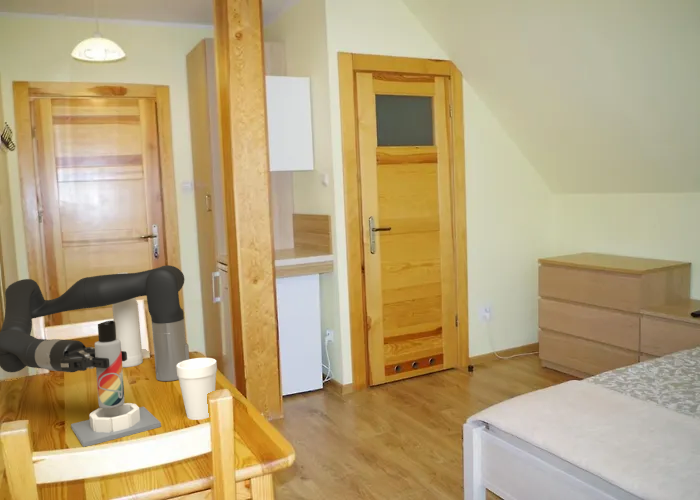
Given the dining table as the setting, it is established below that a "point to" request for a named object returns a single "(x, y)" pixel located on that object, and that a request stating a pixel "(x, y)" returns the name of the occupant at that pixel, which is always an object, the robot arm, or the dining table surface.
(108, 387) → the lotion bottle
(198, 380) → the foam cup
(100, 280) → the robot arm
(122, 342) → the bottle
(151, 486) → the dining table surface
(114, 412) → the socket
